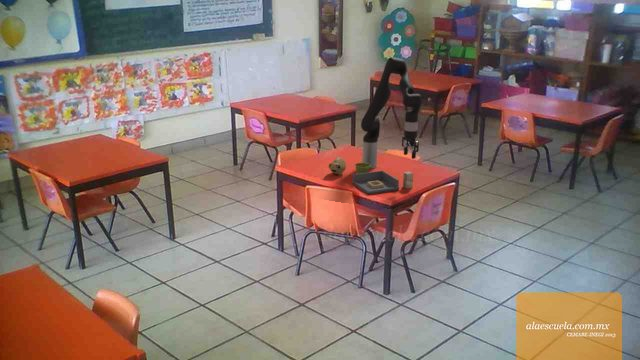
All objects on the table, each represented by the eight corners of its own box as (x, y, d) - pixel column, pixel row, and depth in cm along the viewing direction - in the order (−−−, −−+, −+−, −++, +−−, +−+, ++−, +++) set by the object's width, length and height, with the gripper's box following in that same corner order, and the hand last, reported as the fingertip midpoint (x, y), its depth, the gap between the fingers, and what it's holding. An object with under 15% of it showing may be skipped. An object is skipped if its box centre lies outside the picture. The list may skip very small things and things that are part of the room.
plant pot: (351, 178, 365) (351, 164, 362) (361, 174, 371) (362, 161, 369) (362, 182, 359) (363, 168, 356) (373, 178, 365) (373, 164, 362)
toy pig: (325, 176, 369) (325, 159, 366) (333, 170, 379) (334, 154, 376) (340, 178, 365) (340, 161, 362) (348, 172, 375) (348, 156, 372)
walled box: (352, 184, 355) (352, 174, 353) (382, 179, 363) (382, 170, 361) (368, 194, 338) (368, 184, 336) (399, 190, 346) (399, 180, 344)
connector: (402, 186, 351) (403, 172, 348) (408, 186, 352) (409, 171, 349) (406, 189, 347) (407, 174, 345) (412, 188, 349) (413, 173, 346)
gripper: (423, 131, 334) (421, 159, 339) (409, 125, 346) (408, 152, 351) (411, 132, 331) (410, 160, 336) (398, 127, 343) (397, 154, 349)
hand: (409, 156), depth 344 cm, fingers open, 8 cm apart
